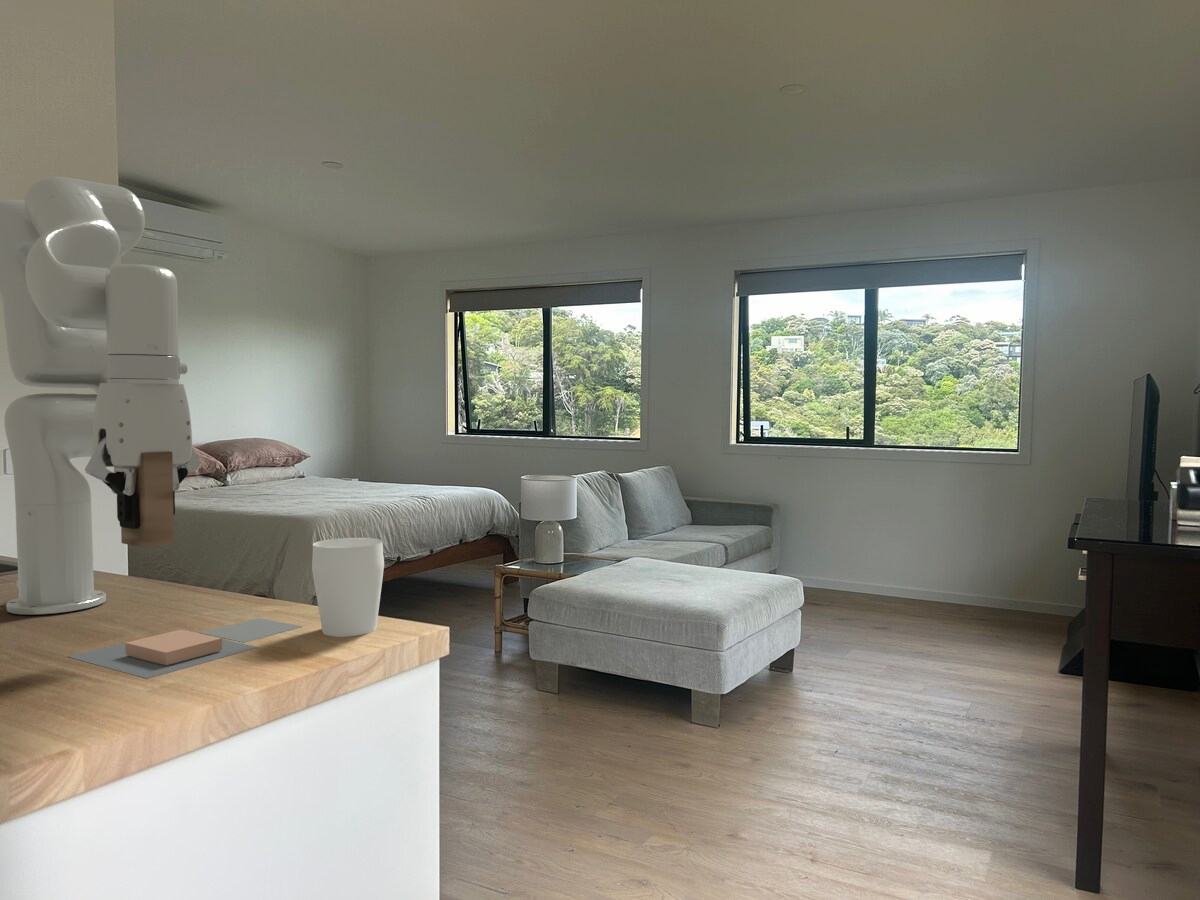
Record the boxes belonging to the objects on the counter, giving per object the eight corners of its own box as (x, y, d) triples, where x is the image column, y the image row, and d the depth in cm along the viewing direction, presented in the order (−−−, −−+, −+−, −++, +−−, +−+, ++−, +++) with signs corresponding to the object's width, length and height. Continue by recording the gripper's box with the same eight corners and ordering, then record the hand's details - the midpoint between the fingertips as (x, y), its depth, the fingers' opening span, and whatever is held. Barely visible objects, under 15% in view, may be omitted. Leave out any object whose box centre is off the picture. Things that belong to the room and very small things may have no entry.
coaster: (199, 637, 112) (199, 632, 112) (259, 622, 120) (259, 618, 120) (244, 647, 107) (244, 642, 107) (303, 630, 115) (303, 626, 115)
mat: (67, 661, 101) (67, 656, 101) (179, 634, 113) (179, 629, 113) (147, 683, 93) (147, 678, 93) (259, 652, 105) (259, 647, 105)
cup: (310, 629, 116) (308, 540, 115) (379, 622, 119) (377, 535, 119) (316, 646, 107) (314, 550, 107) (390, 638, 111) (389, 545, 110)
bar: (121, 543, 104) (119, 451, 103) (149, 539, 107) (147, 450, 106) (145, 547, 101) (143, 453, 101) (174, 543, 104) (172, 451, 104)
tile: (125, 642, 101) (166, 652, 97) (181, 629, 107) (221, 638, 103) (125, 656, 101) (166, 666, 97) (181, 642, 107) (222, 651, 103)
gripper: (189, 373, 112) (191, 515, 113) (53, 369, 98) (57, 531, 99) (225, 373, 108) (227, 520, 109) (89, 369, 94) (93, 538, 95)
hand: (146, 524), depth 104 cm, fingers closed on bar, 3 cm apart
